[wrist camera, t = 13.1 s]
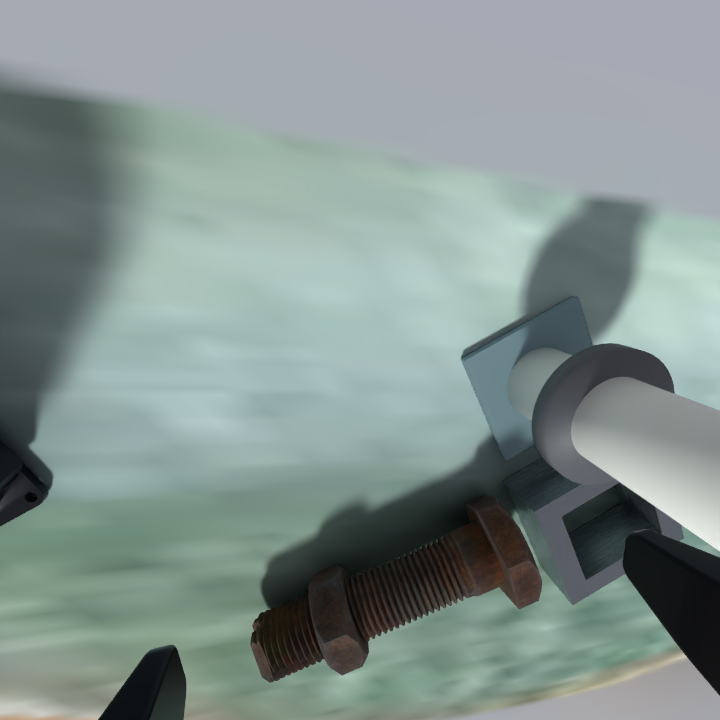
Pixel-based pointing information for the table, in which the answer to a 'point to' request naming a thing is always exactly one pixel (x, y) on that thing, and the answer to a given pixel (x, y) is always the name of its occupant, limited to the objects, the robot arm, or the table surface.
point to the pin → (623, 428)
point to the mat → (498, 358)
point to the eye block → (588, 543)
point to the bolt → (396, 594)
